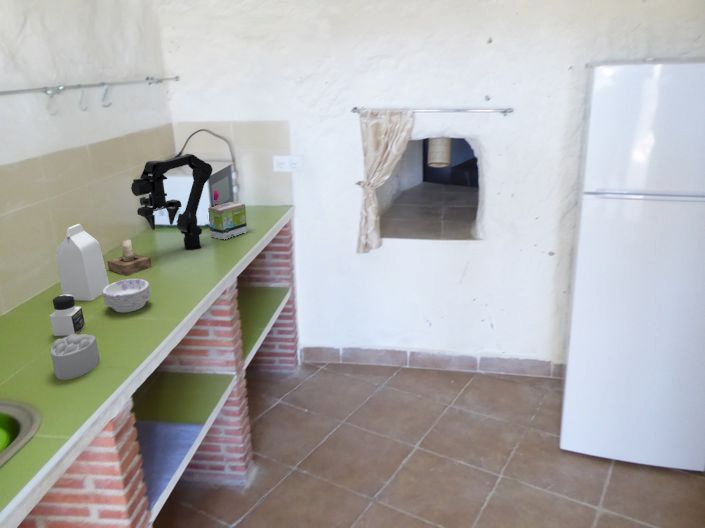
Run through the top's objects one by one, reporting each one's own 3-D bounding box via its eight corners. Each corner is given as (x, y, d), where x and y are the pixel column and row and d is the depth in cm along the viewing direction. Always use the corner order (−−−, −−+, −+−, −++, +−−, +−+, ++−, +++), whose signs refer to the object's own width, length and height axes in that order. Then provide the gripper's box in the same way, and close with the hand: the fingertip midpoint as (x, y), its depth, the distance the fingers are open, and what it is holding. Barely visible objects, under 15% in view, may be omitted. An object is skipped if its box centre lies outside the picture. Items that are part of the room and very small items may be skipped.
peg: (137, 267, 250) (132, 239, 246) (131, 270, 246) (127, 242, 242) (128, 266, 250) (124, 239, 246) (123, 270, 247) (118, 242, 243)
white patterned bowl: (103, 319, 201) (99, 297, 198) (108, 302, 215) (104, 281, 212) (151, 312, 205) (148, 291, 202) (153, 296, 218) (149, 276, 216)
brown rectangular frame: (134, 261, 256) (132, 253, 255) (151, 266, 249) (150, 257, 248) (108, 270, 247) (107, 261, 246) (126, 275, 240) (124, 266, 239)
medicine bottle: (75, 336, 189) (68, 300, 185) (53, 336, 190) (45, 301, 185) (85, 326, 196) (78, 292, 192) (64, 326, 196) (56, 292, 192)
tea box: (224, 241, 281) (221, 210, 276) (210, 237, 286) (206, 207, 281) (248, 233, 292) (245, 203, 287) (233, 230, 298) (230, 200, 293)
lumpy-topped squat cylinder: (104, 357, 175) (99, 330, 172) (81, 380, 163) (76, 351, 160) (70, 356, 176) (65, 329, 173) (45, 379, 164) (39, 351, 161)
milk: (91, 300, 217) (78, 231, 208) (63, 299, 219) (48, 230, 210) (110, 288, 228) (98, 222, 219) (83, 287, 230) (70, 221, 221)
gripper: (163, 185, 264) (168, 219, 270) (126, 193, 250) (132, 229, 256) (180, 187, 258) (184, 223, 263) (143, 196, 244) (148, 233, 249)
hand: (162, 227), depth 258 cm, fingers open, 9 cm apart
